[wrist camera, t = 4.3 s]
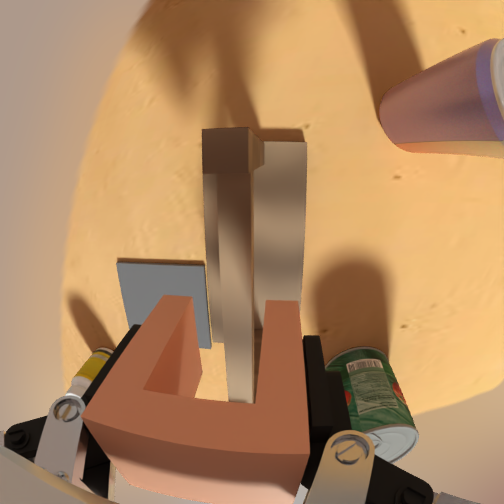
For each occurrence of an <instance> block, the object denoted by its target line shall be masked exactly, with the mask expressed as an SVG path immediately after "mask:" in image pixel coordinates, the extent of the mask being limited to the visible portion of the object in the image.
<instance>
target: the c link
mask: <svg viewBox="0 0 504 504" xmlns="http://www.w3.org/2000/svg"><path fill="white" fill-rule="evenodd" d="M201 375H202V365H201V359H200V352H199V345H198V338H197V330H196V322H195V314H194V306H193V297H191V296H176V295H163V296H162V298H161V299H160V300H159V302H158V303H157V305H156V306H155V307H154V309H153V310H152V312H151V313H150V314H149V316H148V317H147V318H146V320H145V321H144V323H143V324H142V326H141V327H140V328H139V330H138V331H137V333H136V334H135V335H134V337H133V338H132V340H131V341H130V343H129V344H128V345H127V347H126V348H125V350H124V351H123V353H122V354H121V356H120V357H119V359H118V360H117V361H116V363H115V364H114V366H113V367H112V369H111V370H110V372H109V373H108V375H107V376H106V378H105V379H104V381H103V382H102V384H101V385H100V387H99V388H98V390H97V391H96V393H95V395H94V396H93V398H92V399H91V401H90V402H89V404H88V405H87V407H86V409H85V410H84V412H83V413H82V415H81V416H80V417H81V418H82V420H83V421H84V423H85V425H86V426H87V428H88V429H89V431H90V432H91V434H92V435H93V437H94V438H95V440H96V441H97V443H98V444H99V446H100V447H101V448H102V450H103V451H104V453H105V454H106V455H107V457H108V458H109V459H110V461H111V462H112V463H113V464H114V466H115V467H116V468H117V470H118V471H119V472H120V473H121V474H122V476H123V477H124V478H125V479H126V481H127V482H128V483H129V484H130V485H133V486H136V487H139V488H143V489H146V490H150V491H154V492H157V493H161V494H166V495H169V496H174V497H179V498H184V499H188V500H194V501H199V502H206V503H212V504H293V502H294V500H295V497H296V494H297V491H298V488H299V485H300V483H301V480H302V477H303V474H304V471H305V468H306V465H307V462H308V458H309V455H310V443H309V424H308V408H307V393H306V380H305V367H304V355H303V344H302V333H301V323H300V313H299V303H298V301H288V300H266V303H265V314H264V324H263V334H262V344H261V354H260V364H259V374H258V383H257V392H256V401H255V404H252V403H237V402H225V401H215V400H206V399H198V398H194V397H195V394H196V391H197V388H198V385H199V381H200V378H201Z"/></svg>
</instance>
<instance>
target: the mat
mask: <svg viewBox="0 0 504 504" xmlns="http://www.w3.org/2000/svg"><path fill="white" fill-rule="evenodd" d="M116 265H117V271H118V276H119V282H120V287H121V292H122V297H123V302H124V307H125V312H126V316H127V320H128V325H129V329H130V328H131V327H132V326H133V325H134V324H139V325H142V324H143V323H144V321H145V320H146V318H147V317H148V316H149V314H150V313H151V312H152V310H153V309H154V307H155V306H156V305H157V303H158V302H159V300H160V299H161V298H162V296H163V295H176V296H191V297H193V306H194V314H195V322H196V330H197V338H198V345H199V348H205V349H211V347H212V346H211V335H210V325H209V313H208V301H207V288H206V274H205V265H190V264H162V263H137V262H117V263H116Z"/></svg>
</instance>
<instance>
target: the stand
mask: <svg viewBox="0 0 504 504" xmlns="http://www.w3.org/2000/svg"><path fill="white" fill-rule="evenodd" d="M202 165H203V194H204V220H205V240H206V258H207V274H208V288H209V302H210V314H211V326H212V337H213V342H217V343H224V347H225V360H226V373H227V386H228V397H229V402H237V403H252V404H255V401H256V392H257V383H258V374H259V364H260V354H261V344H262V334H263V324H264V314H265V303H266V300H288V301H298V303H299V313H300V304H301V291H302V276H303V260H304V240H305V217H306V183H307V142H274V141H261V140H260V139H259V138H258V137H257V136H256V135H255V134H254V133H253V132H252V131H251V130H250V129H249V128H248V127H238V128H214V129H202Z"/></svg>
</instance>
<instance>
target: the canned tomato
mask: <svg viewBox="0 0 504 504" xmlns="http://www.w3.org/2000/svg"><path fill="white" fill-rule="evenodd" d="M325 371H340V373H341V376H342V381H343V386H344V391H345V396H346V401H347V406H348V411H349V416H350V421H351V427H352V430H355V431H359V432H362V433H364V434H365V435H367V436H368V437H369V438H370V439H371V440H372V442H373V444H374V446H375V455H377V456H379V457H380V458H382V459H384V460H386V461H387V462H389V463H391V464H393V463H395V462H396V461H398V460H400V459H401V458H403V457H404V456H405V455H407V454H408V453H409V452H410V451H411V450H412V449H413V448H414V447H415V445H416V443H417V442H418V439H419V434H418V431H417V430H416V427H415V424H414V422H413V418H412V416H411V414H410V411H409V409H408V406H407V404H406V401H405V399H404V397H403V394H402V392H401V389H400V387H399V384H398V382H397V379H396V377H395V375H394V373H393V371H392V368H391V366H390V364H389V361H388V358H387V357H386V355H385V354H384V353H383V352H382V351H380V350H378V349H376V348H372V347H356V348H352V349H348V350H346V351H344V352H341V353H340V354H338V355H336V356H335V357H334V358H333V359H331V360H330V361H329V362H328V363H327V365H326V366H325Z"/></svg>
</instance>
